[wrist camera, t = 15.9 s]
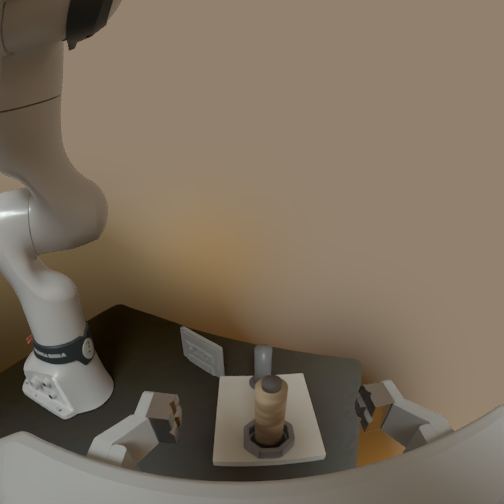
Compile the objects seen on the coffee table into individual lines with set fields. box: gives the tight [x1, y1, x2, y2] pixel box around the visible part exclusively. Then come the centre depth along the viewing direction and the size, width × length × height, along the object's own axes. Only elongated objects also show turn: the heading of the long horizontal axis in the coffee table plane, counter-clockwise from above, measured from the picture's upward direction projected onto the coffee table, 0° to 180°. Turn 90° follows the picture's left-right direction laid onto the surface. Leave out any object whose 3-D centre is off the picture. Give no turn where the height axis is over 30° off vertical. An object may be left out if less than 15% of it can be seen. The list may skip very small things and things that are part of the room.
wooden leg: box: [255, 375, 288, 448], centre depth 31 cm, size 4×4×13 cm
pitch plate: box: [213, 344, 326, 466], centre depth 38 cm, size 16×20×10 cm
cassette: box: [180, 326, 225, 378], centre depth 52 cm, size 12×2×8 cm, turn 51°
